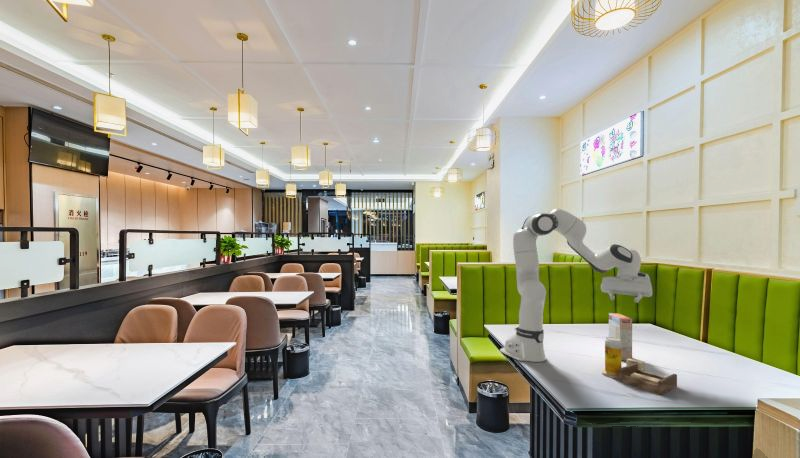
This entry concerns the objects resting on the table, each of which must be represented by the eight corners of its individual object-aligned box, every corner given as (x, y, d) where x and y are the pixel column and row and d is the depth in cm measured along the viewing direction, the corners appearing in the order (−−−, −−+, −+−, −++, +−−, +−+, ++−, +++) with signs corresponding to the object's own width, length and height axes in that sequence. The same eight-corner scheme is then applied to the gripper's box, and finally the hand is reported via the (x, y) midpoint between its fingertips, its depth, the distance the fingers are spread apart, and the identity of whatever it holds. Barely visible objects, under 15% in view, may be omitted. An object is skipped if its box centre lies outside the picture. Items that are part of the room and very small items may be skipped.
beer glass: (601, 371, 151) (601, 337, 152) (614, 371, 152) (614, 337, 152) (611, 376, 145) (611, 341, 146) (625, 376, 146) (624, 340, 146)
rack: (618, 381, 142) (618, 368, 142) (635, 374, 150) (635, 363, 150) (661, 395, 129) (661, 381, 130) (677, 387, 137) (676, 374, 137)
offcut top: (629, 365, 162) (626, 366, 160) (629, 358, 162) (626, 359, 160) (644, 369, 157) (641, 371, 155) (644, 362, 157) (641, 363, 155)
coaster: (598, 373, 150) (598, 372, 150) (607, 370, 154) (607, 369, 154) (618, 380, 143) (618, 378, 143) (627, 376, 147) (627, 375, 147)
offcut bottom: (630, 384, 139) (630, 374, 139) (633, 382, 142) (633, 372, 142) (657, 392, 132) (657, 381, 133) (660, 389, 135) (660, 379, 135)
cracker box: (633, 362, 166) (632, 318, 167) (619, 360, 168) (619, 317, 169) (620, 353, 180) (620, 313, 181) (608, 352, 181) (608, 312, 182)
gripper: (601, 271, 170) (597, 293, 162) (652, 274, 156) (650, 298, 148) (604, 280, 173) (599, 301, 165) (654, 284, 159) (651, 307, 151)
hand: (623, 300), depth 157 cm, fingers open, 8 cm apart
